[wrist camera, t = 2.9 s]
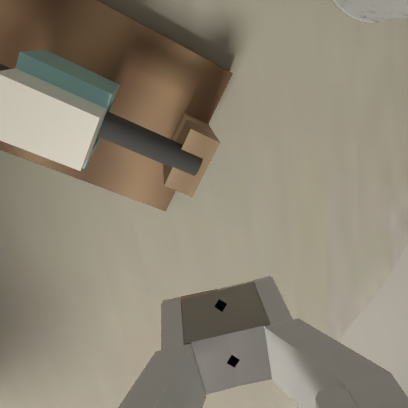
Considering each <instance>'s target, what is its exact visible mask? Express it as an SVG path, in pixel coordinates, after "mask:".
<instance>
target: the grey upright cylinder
mask: <svg viewBox="0 0 408 408" xmlns="http://www.w3.org/2000/svg"><path fill="white" fill-rule="evenodd" d="M332 1H333V2H334V3H335V4H336V5H337V7H338V8H339V9H340V10H341V11H342V12H344V13H345V14H347V15H348V16H349V17H351V18H353V19H356V20H359V21H362V22H372V23H379V22H383V21H388V20H395V19H405V18H408V0H332Z"/></svg>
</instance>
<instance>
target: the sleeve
mask: <svg viewBox="0 0 408 408" xmlns="http://www.w3.org/2000/svg"><path fill="white" fill-rule="evenodd" d="M119 86H120V85H119V84H117V83H115V82H113V81H111V80H109V79H107V78H105V77H102V76H100V75H98V74H96V73H94V72H92V71H90V70H88V69H85V68H83V67H81V66H79V65H77V64H75V63H73V62H71V61H69V60H66V59H64V58H62V57H60V56H58V55H56V54H54V53H52V52H50V51H47V50H40V51H24V52H19V56H18V60H17V64H16V68H13V69H8V70H2V71H0V141H3V142H5V143H8V144H10V145H13V146H16V147H18V148H21V149H24V150H26V151H29V152H31V153H34V154H37V155H39V156H42V157H45V158H47V159H50V160H52V161H55V162H58V163H60V164H63V165H66V166H68V167H71V168H73V169H76V170H79V171H81V169H82V168H83V169H85V167H86V165H87V163H88V162H89V160H90V158H91V156H92V155H93V153H94V151H95V149H96V148H97V145H98V142H99V140H100V137H97V136H98V134H99V131H100V128H101V126H102V123H103V120H104V117H105V115H106V112H107V111H108V112H110V110H111V108H112V105H113V102H114V100H115V97H116V94H117V92H118V89H119Z"/></svg>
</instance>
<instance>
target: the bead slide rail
mask: <svg viewBox="0 0 408 408" xmlns="http://www.w3.org/2000/svg"><path fill="white" fill-rule="evenodd" d="M8 69H11V68H9V67H7V66H4V65H2V64H0V71H2V70H8ZM97 137H100V138H102V139H105V140H107V141H109V142H112V143H114V144H117V145H119V146H121V147H124V148H126V149H129V150H131V151H133V152H136V153H138V154H141V155H143V156H145V157H148V158H150V159H153V160H155V161H157V162H160V163H162V164H164V165H167V166H169V167H174V168H177V169H179V170H181V171H184V172H186V173H188V174H191V175H193V176H195V175H196V174H197V172H198V170H199V169H200V166H201V164H202V161H203V159H202V158H200V157H198V156H195V155H193V154H191V153H189V152H186V151H184V150H182V149H181V148H182V144H180V143H178V142H176V141H173V140H171V139H169V138H167V137H164V136H162V135H160V134H158V133H155V132H153V131H151V130H149V129H146V128H144V127H142V126H140V125H137V124H135V123H133V122H131V121H128V120H126V119H124V118H122V117H119V116H117V115H115V114H113V113H110V112H108V111H107V112H106V115H105V117H104V120H103V123H102V126H101V128H100V131H99V134H98V136H97Z"/></svg>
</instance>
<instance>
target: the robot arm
mask: <svg viewBox="0 0 408 408" xmlns="http://www.w3.org/2000/svg"><path fill="white" fill-rule="evenodd" d="M270 379H272V381H273V382H274V383H275V384H276V385H277V386H278V387H279V388H280V389H281V390H282V391H283V392H284V393H286V394H287V395H288V396H289V397H290V398H291V399H292V400H293V401H294V402H295V403H296V404H297V405H298V406H299V407H300V408H408V397H407V395H406V394H405V393H404V391H403V390H402V388H401V387H400V386H399V384H398V383H397V381H396V380H395V378H394V377H393V376H392V374H391V373H390V372H389V371H387V370H385V369H384V368H382V367H380V366H378V365H377V364H375V363H373V362H372V361H370V360H368V359H367V358H365V357H363V356H361V355H360V354H358V353H356V352H354V351H353V350H351V349H349V348H348V347H346V346H344V345H343V344H341V343H339V342H338V341H336V340H334V339H333V338H331V337H329V336H328V335H326V334H324V333H322V332H321V331H319V330H317V329H316V328H314V327H312V326H311V325H309V324H307V323H305V322H304V321H302V320H300V319H294V320H293V319H292V317H291V315H290V313H289V310H288V308H287V306H286V304H285V302H284V300H283V298H282V296H281V294H280V292H279V290H278V288H277V286H276V284H275V282H274V280H273V278H272V277H271V276H269V277H265V278H261V279H257V280H253V281H250V282H246V283H241V284H237V285H233V286H229V287H224V288H220V289H216V290H211V291H206V292H201V293H196V294H191V295H186V296H181V297H178V298H173V299H168V300H164V301H162V304H161V350H160V351H156V352H155V353H154V355H153V356H152V358H151V359H150V361H149V362H148V364H147V365H146V367H145V368H144V370H143V371H142V373H141V374H140V376H139V377H138V379H137V380H136V382H135V383H134V385H133V386H132V388H131V389H130V391H129V392H128V394H127V395H126V397H125V398H124V400H123V401H122V403H121V404H120V406H119V407H118V408H202V406H203V404H204V401H205V398H206V394H210V393H214V392H218V391H221V390H225V389H229V388H233V387H236V386H238V385H239V386H241V385H246V384H250V383H255V382H260V381H265V380H270Z"/></svg>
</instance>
